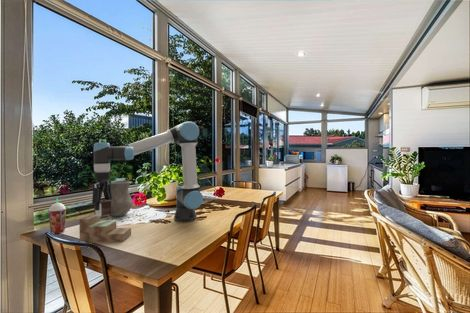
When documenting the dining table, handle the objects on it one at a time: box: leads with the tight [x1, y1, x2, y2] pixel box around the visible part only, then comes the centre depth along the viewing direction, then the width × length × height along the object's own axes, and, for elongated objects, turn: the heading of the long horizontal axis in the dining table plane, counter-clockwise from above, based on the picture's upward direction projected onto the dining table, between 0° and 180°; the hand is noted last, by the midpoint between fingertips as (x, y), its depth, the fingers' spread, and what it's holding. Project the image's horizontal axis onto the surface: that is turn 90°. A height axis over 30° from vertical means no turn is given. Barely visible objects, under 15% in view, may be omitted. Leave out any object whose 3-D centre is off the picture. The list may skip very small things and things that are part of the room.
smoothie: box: [48, 197, 67, 234], centre depth 137 cm, size 8×8×20 cm
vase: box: [103, 180, 134, 218], centre depth 172 cm, size 20×19×25 cm
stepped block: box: [78, 213, 132, 243], centre depth 126 cm, size 22×10×12 cm, turn 92°
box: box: [93, 199, 111, 217], centre depth 126 cm, size 6×6×7 cm
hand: (102, 213), depth 126 cm, fingers closed on box, 8 cm apart
